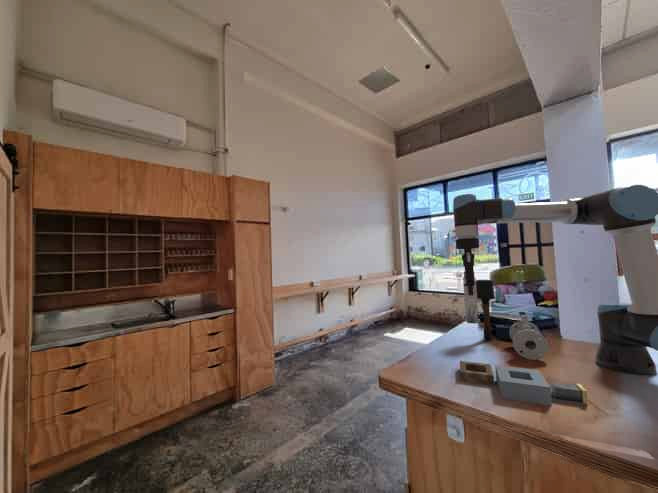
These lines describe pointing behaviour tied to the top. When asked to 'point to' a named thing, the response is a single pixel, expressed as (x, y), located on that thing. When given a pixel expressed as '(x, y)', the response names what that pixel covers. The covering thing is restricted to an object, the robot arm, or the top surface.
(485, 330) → the potato masher grenade
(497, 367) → the socket block
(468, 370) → the brown square frame
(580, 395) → the yellow capped grey block
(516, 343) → the valve
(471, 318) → the peg
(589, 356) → the top surface
